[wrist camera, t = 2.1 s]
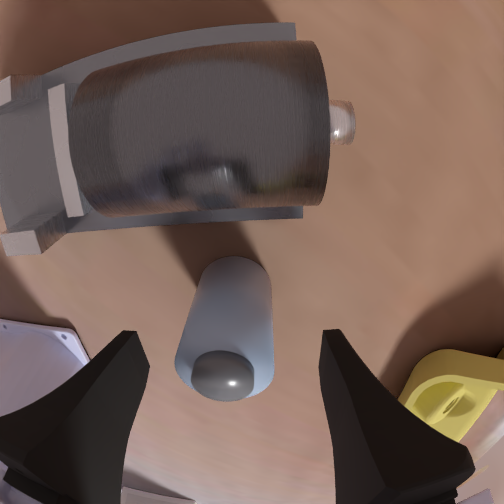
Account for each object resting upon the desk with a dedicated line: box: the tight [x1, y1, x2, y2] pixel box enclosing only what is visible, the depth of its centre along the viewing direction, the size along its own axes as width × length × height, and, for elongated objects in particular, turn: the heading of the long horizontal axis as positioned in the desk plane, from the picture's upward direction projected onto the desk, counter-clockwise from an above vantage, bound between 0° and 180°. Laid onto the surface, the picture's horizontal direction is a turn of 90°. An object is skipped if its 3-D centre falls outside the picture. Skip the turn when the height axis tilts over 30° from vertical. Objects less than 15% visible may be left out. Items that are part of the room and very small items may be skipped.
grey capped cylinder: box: [175, 256, 274, 401], centre depth 12 cm, size 4×4×6 cm
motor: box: [0, 23, 355, 256], centre depth 9 cm, size 15×7×7 cm, turn 93°
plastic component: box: [398, 347, 504, 442], centre depth 20 cm, size 20×7×10 cm
